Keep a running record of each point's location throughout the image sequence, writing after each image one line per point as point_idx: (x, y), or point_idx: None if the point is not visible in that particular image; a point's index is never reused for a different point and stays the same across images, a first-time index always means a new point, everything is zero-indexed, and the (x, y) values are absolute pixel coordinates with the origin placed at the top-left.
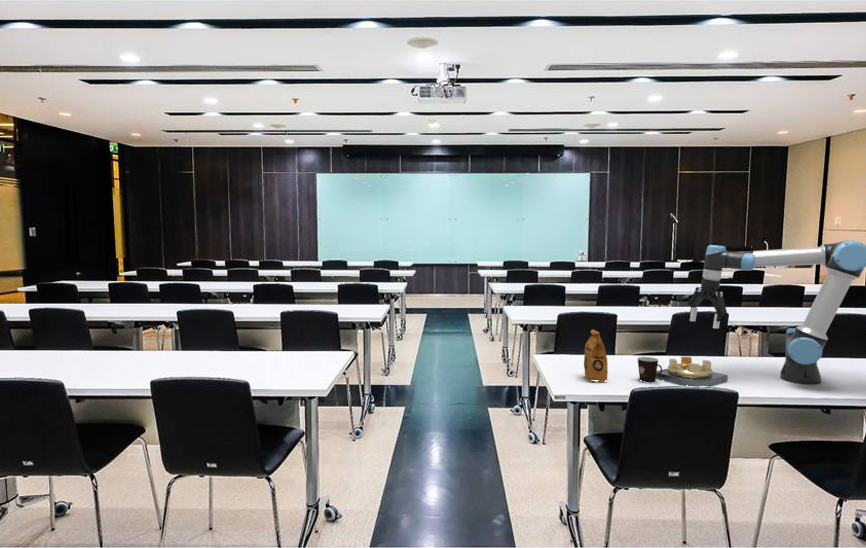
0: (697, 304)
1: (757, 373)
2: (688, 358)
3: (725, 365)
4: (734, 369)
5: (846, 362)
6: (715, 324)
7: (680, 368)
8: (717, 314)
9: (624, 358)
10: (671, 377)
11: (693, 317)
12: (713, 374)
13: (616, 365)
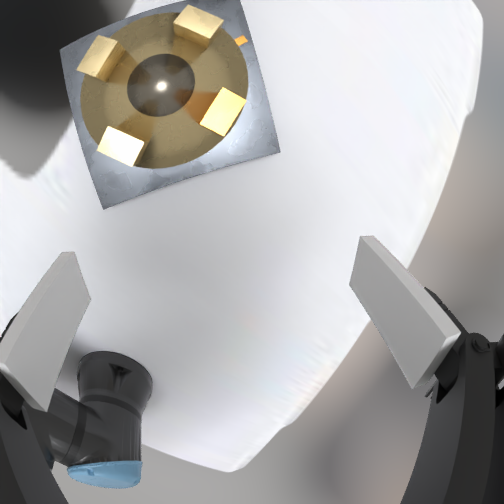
0: (434, 419)
1: (180, 344)
2: (207, 111)
3: (279, 328)
4: (234, 323)
5: (218, 463)
6: (47, 281)
7: (172, 48)
8: (2, 369)
9: (442, 126)
10: (157, 9)
11: (372, 280)
12: (120, 164)
13: (396, 38)
